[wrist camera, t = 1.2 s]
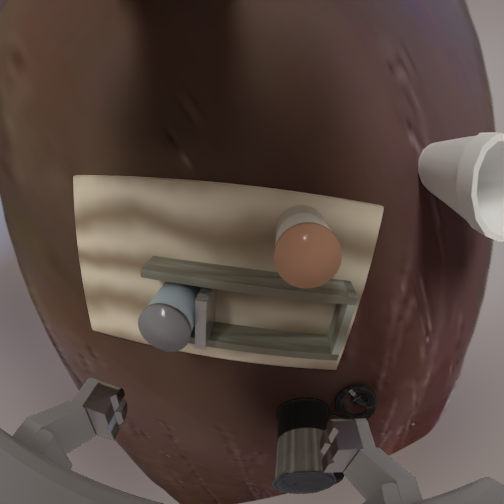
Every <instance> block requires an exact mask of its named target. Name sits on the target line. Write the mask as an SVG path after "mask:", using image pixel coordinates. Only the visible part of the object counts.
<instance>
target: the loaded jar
mask: <svg viewBox="0 0 504 504" xmlns="http://www.w3.org/2000/svg"><path fill="white" fill-rule="evenodd" d="M200 289H201V287H198V286H192V285H185V284H179V283H173V282H166V281H165V282H164V284H163V285H162V286H161V288H160V289H159V291H158V292H157V293H156V295H155V296H154V297H153V299H152V300H151V302H150V303H149V304H148V306H147V307H146V308H145V309H144V310H143V311H142V313H141V314H140V316H139V318H138V328H139V331H140V333H141V335H142V336H143V338H144V339H145V340H146V341H147V342H148V343H149V344H151V345H152V346H154V347H155V348H157V349H160V350H163V351H168V352H175V351H179V350H181V349H183V348H184V347H185V346H186V345H187V344H188V342H189V339H190V337H191V332H192V330H193V328H194V325H195V299H196V297H197V295H198V293H199V291H200Z"/></svg>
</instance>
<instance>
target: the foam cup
mask: <svg viewBox="0 0 504 504" xmlns="http://www.w3.org/2000/svg"><path fill="white" fill-rule="evenodd" d="M418 173H419V176H420V179H421V182H422V184H423V185H424V186H425V187H426V188H427V190H429V191H430V192H431V193H432V194H434V195H435V196H436V197H438V198H439V199H440V200H442V201H443V202H444V203H445V204H447V205H448V206H449V207H450V208H452V209H453V210H454V211H455V212H457V213H458V214H459V215H460V216H462V217H463V218H464V219H465V220H466V221H467V222H468V223H469V225H470V226H471V228H473V229H475V230H476V231H478V232H480V233H482V234H483V235H485V236H487V237H489V238H491V239H493V240H496V241H498V242H502V241H504V133H496V132H490V133H479V134H478V135H477V136H471V137H464V138H458V139H452V140H447V141H441V142H436V143H431V144H430V145H429V146H427V147H426V148H425V149H423V151H422V153H421V155H420V158H419V162H418Z"/></svg>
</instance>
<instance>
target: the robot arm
mask: <svg viewBox="0 0 504 504" xmlns="http://www.w3.org/2000/svg"><path fill="white" fill-rule="evenodd" d="M124 395H125V394H124V390H123V389H122V388H119V387H116V386H113V385H110V384H107V383H104V382H102V381H99V380H96V379H93V378H89V379H87V381H86V382H85V383H84V385H83V386H82V388H81V389H80V390H79V392H78V393H77V395H76V396H75V397H74V399H73V400H72V402H70V401H67V402H65V403H62V404H60V405H57V406H55V407H52V408H50V409H47V410H45V411H42V412H40V413H37V414H34V415H32V416H29V417H27V418H26V419H25V420H24V422H23V423H22V424H21V426H20V427H19V428H18V430H17V431H16V432H15V434H14V435H13V436H11V435H10V434H8V433H6V432H5V431H4V430H2V429H1V428H0V504H163V503H159V502H155V501H152V500H148V499H145V498H141V497H138V496H135V495H132V494H129V493H126V492H123V491H120V490H117V489H115V488H112V487H109V486H107V485H104V484H101V483H99V482H97V481H94V480H92V479H90V478H87V477H85V476H83V475H80V474H78V473H76V472H74V471H72V470H71V467H72V463H71V462H70V460H69V459H68V457H67V456H66V454H67V453H69V452H71V451H72V450H74V449H76V448H77V447H79V446H81V445H82V444H84V443H85V442H87V441H89V440H90V439H92V438H93V437H95V436H96V435H98V436H101V437H104V438H107V439H110V440H113V441H114V440H115V438H116V436H117V434H118V432H119V430H120V429H119V425H118V424H120V423H122V422H124V420H125V418H126V414H127V402H126V401H125V400H124V399H123V397H124ZM320 452H321V453H323V454H324V457H323V458H322V467H323V473H334V472H343V474H344V475H345V476H346V477H347V479H348V480H349V481H350V482H351V483H352V484H353V486H354V487H355V488H356V489H357V490H358V491H359V493H360V494H361V495H362V496H363V497H364V498H365V499H366V501H365V502H364V503H363V504H504V485H503V484H501V483H499V482H498V481H495V480H494V479H492V478H490V477H485V478H482V479H479V480H477V481H475V482H472V483H470V484H467V485H465V486H463V487H460V488H457V489H455V490H452V491H449V492H447V493H444V494H441V495H438V496H435V497H432V498H428V499H425V500H422V497H421V493H420V490H419V487H418V484H417V481H416V478H415V477H414V476H413V475H412V474H411V473H409V472H408V471H407V470H406V469H404V468H403V467H402V466H400V465H399V464H398V463H397V462H395V461H394V460H393V459H392V458H391V457H390V456H388V455H387V454H386V453H385V452H383V451H382V450H381V449H380V448H376V447H375V444H374V440H373V437H372V434H371V431H370V428H369V424H368V421H367V419H366V418H361V419H330V420H329V421H328V423H327V429H326V430H324V431H323V433H322V435H321V439H320Z"/></svg>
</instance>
